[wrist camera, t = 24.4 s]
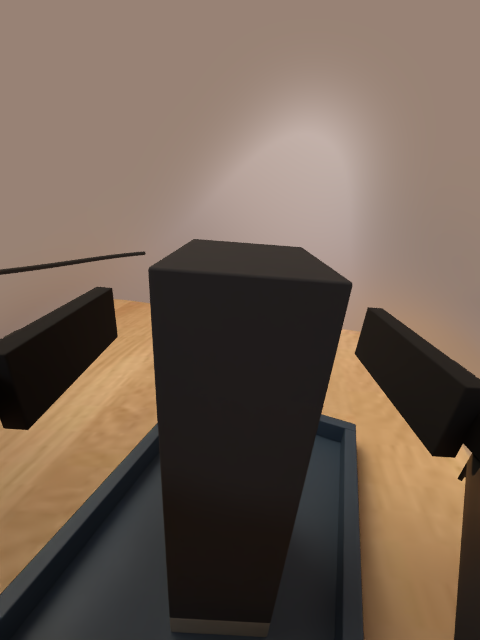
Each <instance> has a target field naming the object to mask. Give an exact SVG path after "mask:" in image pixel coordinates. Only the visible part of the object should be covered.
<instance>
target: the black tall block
mask: <svg viewBox="0 0 480 640" xmlns="http://www.w3.org/2000/svg"><path fill="white" fill-rule="evenodd" d="M148 271H149V288H150V305H151V321H152V338H153V354H154V371H155V387H156V404H157V420H158V437H159V453H160V470H161V486H162V502H163V519H164V535H165V552H166V568H167V585H168V601H169V617H170V630H171V632H181V633H199V634H218V635H237V636H255V637H266V636H267V634H268V630H269V626H270V623H271V619H272V614H273V610H274V606H275V602H276V598H277V594H278V590H279V586H280V582H281V577H282V573H283V569H284V565H285V561H286V557H287V553H288V549H289V544H290V540H291V536H292V532H293V528H294V524H295V520H296V516H297V511H298V507H299V503H300V499H301V495H302V491H303V487H304V483H305V478H306V474H307V470H308V466H309V462H310V458H311V454H312V450H313V446H314V441H315V437H316V433H317V429H318V425H319V421H320V417H321V413H322V408H323V404H324V400H325V396H326V392H327V388H328V384H329V380H330V375H331V371H332V367H333V363H334V359H335V355H336V351H337V347H338V343H339V338H340V334H341V330H342V326H343V322H344V317H345V314H346V310H347V305H348V301H349V297H350V293H351V289H352V283H351V282H350V281H349V280H347V279H346V278H344V277H343V276H341V275H340V274H339V273H337V272H336V271H334V270H333V269H332V268H330V267H329V266H327V265H326V264H324V263H323V262H322V261H320V260H319V259H317V258H316V257H314V256H313V255H311V254H310V253H309V252H307V251H306V250H304V249H303V248H301V247H290V246H277V245H264V244H251V243H238V242H224V241H212V240H199V239H193V240H192V241H190V242H189V243H187V244H185V245H184V246H182V247H181V248H179V249H178V250H176V251H175V252H173V253H171V254H170V255H168V256H167V257H165V258H163V259H162V260H160V261H159V262H157V263H156V264H154V265H153V266H151V267H149V270H148Z"/></svg>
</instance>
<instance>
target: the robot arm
mask: <svg viewBox="0 0 480 640" xmlns="http://www.w3.org/2000/svg"><path fill="white" fill-rule="evenodd" d="M138 255H145V252H134V253H124V254H115V255H107V256H99V257H93V258H85V259H78V260H71V261H64V262H57V263H50V264H42V265H35V266H27V267H18V268H10V269H1V270H0V275H1V274H10V273H18V272H25V271H33V270H40V269H46V268H53V267H60V266H67V265H73V264H79V263H85V262H91V261H99V260H105V259H112V258H119V257H127V256H138ZM117 337H118V335H117V327H116V318H115V309H114V300H113V292H112V288H105V287H96V288H94V289H92V290H90V291H88V292H87V293H85V294H83V295H81V296H79V297H78V298H76V299H74V300H72V301H70V302H69V303H67V304H65V305H63V306H61V307H60V308H58V309H56V310H54V311H52V312H51V313H49V314H47V315H45V316H43V317H42V318H40V319H38V320H36V321H34V322H32V323H30V324H29V325H27V326H25V327H23V328H21V329H19V330H16V331H14V332H13V333H11V334H9V335H7V336H5V337H4V338H3V339H0V420H1V422H2V425H3V428H6V429H22V430H28V429H29V428H30V427H31V426H32V425H33V424H34V423H35V422H36V421H37V420H38V419H39V418H40V417H41V416H42V415H43V414H44V413H45V412H46V411H47V410H48V409H49V408H50V406H51V405H52V404H53V403H54V402H55V401H56V400H57V399H58V398H59V397H60V396H61V395H62V394H63V393H64V392H65V391H66V390H67V389H68V388H69V387H70V386H71V385H72V384H73V383H74V382H75V380H76V379H77V378H78V377H79V376H80V375H81V374H82V373H83V372H84V371H85V370H86V369H87V368H88V367H89V366H90V365H91V364H92V363H93V362H94V361H95V360H96V359H97V358H98V357H99V356H100V354H101V353H102V352H103V351H104V350H105V349H106V348H107V347H108V346H109V345H110V344H111V343H112V342H113V341H114V340H115V339H116V338H117ZM355 355H356V356H357V357H358V359H359V360H360V361H361V363H362V364H363V365H364V367H365V368H366V369H367V371H368V372H369V373H370V374H371V376H372V377H373V378H374V380H375V381H376V382H377V384H378V385H379V386H380V388H381V389H382V390H383V392H384V393H385V394H386V396H387V397H388V398H389V400H390V401H391V402H392V404H393V405H394V406H395V407H396V409H397V410H398V411H399V413H400V414H401V415H402V417H403V418H404V419H405V421H406V422H407V423H408V425H409V426H410V427H411V429H412V430H413V431H414V433H415V434H416V435H417V437H418V438H419V439H420V440H421V442H422V443H423V444H424V446H425V447H426V448H427V450H428V451H429V452H430V454H431V455H432V456H438V457H454V458H455V457H456V455H457V453H458V452H459V450H460V448H461V446H462V444H464V445H465V446H467V448H468V449H469V450H470V451H471V452H472V454H471V456H470V458H469V460H468V461H467V463H466V465H465V467H464V468H463V470H462V472H461V474H460V475H459V477H458V479H459V480H461V481H462V480H463V478H464V477H466V483H465V497H464V510H463V524H462V538H461V551H460V565H459V579H458V593H457V606H456V620H455V634H454V640H480V379H479V378H476V377H475V375H473V374H472V373H471V372H469V371H467V369H465V368H463V367H462V366H461V365H460V364H458V363H457V362H455V361H454V360H452V359H450V358H449V357H448V356H446V355H445V354H444V353H442V352H441V351H439V350H438V349H437V348H435V347H434V346H433V345H431V344H430V343H429V342H427V341H426V340H425V339H423V338H422V337H420V336H419V335H418V334H416V333H415V332H414V331H412V330H411V329H410V328H408V327H407V326H406V325H404V324H403V323H401V322H400V321H399V320H397V319H396V318H394V317H393V316H392V315H391V314H389V313H388V312H386V311H385V310H383V309H381V308H368V309H367V312H366V316H365V319H364V323H363V326H362V330H361V333H360V337H359V341H358V344H357V348H356V351H355Z"/></svg>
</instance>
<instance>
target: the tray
mask: <svg viewBox="0 0 480 640" xmlns="http://www.w3.org/2000/svg"><path fill="white" fill-rule="evenodd" d="M0 640H364V633H363V607H362V581H361V554H360V528H359V502H358V476H357V449H356V425H355V424H352V423H349V422H346V421H342V420H339V419H335V418H332V417H329V416H325V415H322V414H321V417H320V421H319V425H318V429H317V433H316V437H315V441H314V446H313V450H312V454H311V458H310V462H309V466H308V470H307V474H306V478H305V483H304V487H303V491H302V495H301V499H300V503H299V507H298V511H297V516H296V520H295V524H294V528H293V532H292V536H291V540H290V544H289V549H288V553H287V557H286V561H285V565H284V569H283V573H282V577H281V582H280V586H279V590H278V594H277V598H276V602H275V606H274V610H273V614H272V619H271V623H270V626H269V630H268V634H267V636H266V637H255V636H237V635H218V634H199V633H181V632H171V630H170V617H169V601H168V585H167V568H166V552H165V535H164V519H163V502H162V486H161V470H160V453H159V437H158V423H157V424H156V425H155V426H154V427H153V428H152V430H151V431H150V432H149V433H148V434H147V435H146V436H145V437H144V438H143V439H142V440H141V442H140V443H139V444H138V445H137V446H136V447H135V448H134V449H133V450H132V451H131V452H130V454H129V455H128V456H127V457H126V458H125V459H124V460H123V461H122V462H121V463H120V464H119V466H118V467H117V468H116V469H115V470H114V471H113V472H112V473H111V474H110V475H109V476H108V478H107V479H106V480H105V481H104V482H103V483H102V484H101V485H100V486H99V487H98V488H97V490H96V491H95V492H94V493H93V494H92V495H91V496H90V497H89V498H88V499H87V500H86V502H85V503H84V504H83V505H82V506H81V507H80V508H79V509H78V510H77V511H76V512H75V514H74V515H73V516H72V517H71V518H70V519H69V520H68V521H67V522H66V523H65V524H64V526H63V527H62V528H61V529H60V530H59V531H58V532H57V533H56V534H55V535H54V536H53V538H52V539H51V540H50V541H49V542H48V543H47V544H46V545H45V546H44V547H43V548H42V550H41V551H40V552H39V553H38V554H37V555H36V556H35V557H34V558H33V559H32V560H31V562H30V563H29V564H28V565H27V566H26V567H25V568H24V569H23V570H22V571H21V572H20V574H19V575H18V576H17V577H16V578H15V579H14V580H13V581H12V582H11V583H10V584H9V586H8V587H7V588H6V589H5V590H4V591H3V592H2V593H1V594H0Z"/></svg>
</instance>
